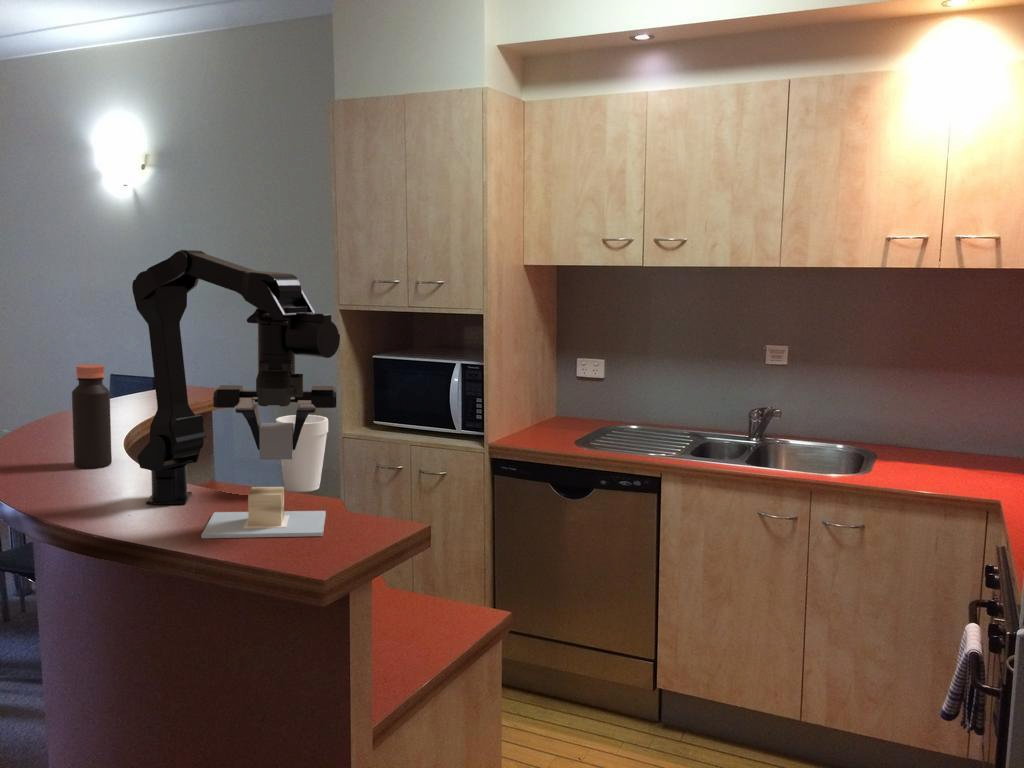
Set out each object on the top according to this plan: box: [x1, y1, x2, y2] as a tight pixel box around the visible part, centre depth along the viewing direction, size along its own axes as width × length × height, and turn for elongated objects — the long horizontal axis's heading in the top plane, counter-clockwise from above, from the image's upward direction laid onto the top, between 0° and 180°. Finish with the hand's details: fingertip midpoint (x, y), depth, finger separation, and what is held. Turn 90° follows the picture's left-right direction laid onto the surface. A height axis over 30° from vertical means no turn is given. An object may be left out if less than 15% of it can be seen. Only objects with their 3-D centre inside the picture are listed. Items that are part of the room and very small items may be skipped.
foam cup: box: [275, 414, 329, 493], centre depth 165 cm, size 10×9×13 cm
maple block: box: [247, 486, 285, 526], centre depth 141 cm, size 5×5×5 cm
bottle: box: [71, 364, 113, 470], centre depth 176 cm, size 7×7×20 cm
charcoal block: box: [259, 422, 294, 461], centre depth 142 cm, size 5×5×5 cm
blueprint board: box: [200, 510, 327, 539], centre depth 141 cm, size 12×18×1 cm, turn 100°
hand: (276, 449), depth 142 cm, fingers closed on charcoal block, 5 cm apart
